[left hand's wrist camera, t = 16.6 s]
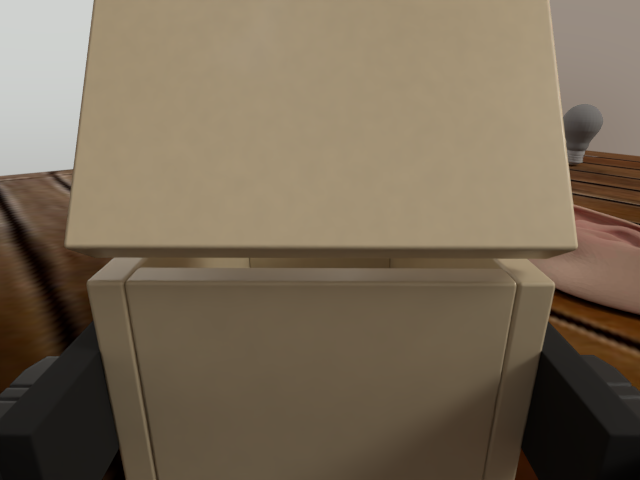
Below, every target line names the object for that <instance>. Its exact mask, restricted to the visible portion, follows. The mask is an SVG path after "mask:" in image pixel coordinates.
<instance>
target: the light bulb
mask: <svg viewBox="0 0 640 480" xmlns="http://www.w3.org/2000/svg"><path fill="white" fill-rule="evenodd" d="M563 122H564V131H565V138H566V141H567V143H566V147H567V149H568V150H567V153H568V154H567V155H568V163H569V164H574V165H576V164H579V163H582V162H583V161H582V160H583V159H582V157H583V155H584V153H585V150H586V149H587V148H588V146H589V143H590V141H591V140H592V139H593V137H594V136H595V135H596V134H597V133H598V132H599V130H600V129H601V127H602V123H603V117H602V114H601V112H600V111H599V110H598V109H597V108H596V107H594V106H592V105H588V104H582V105H577V106H575V107H573V108H571V109H570V110H569V111H568V112H567V113H566V114H565V115H564V117H563Z"/></svg>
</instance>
